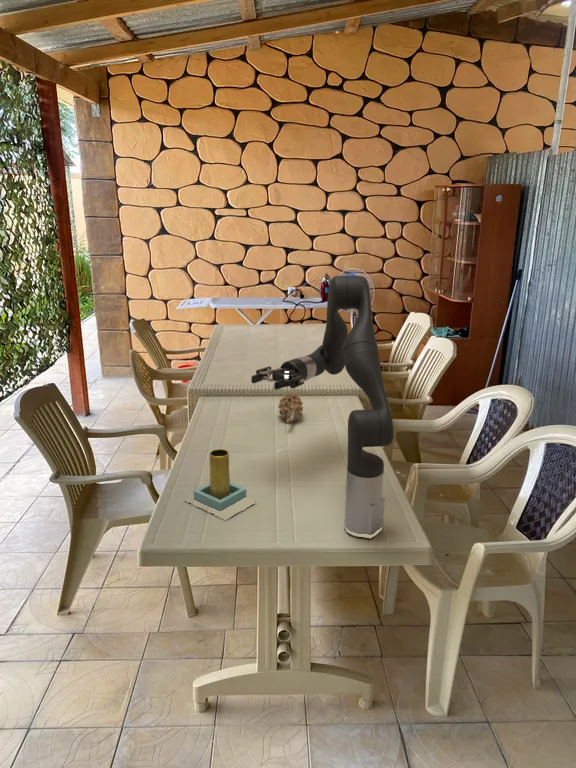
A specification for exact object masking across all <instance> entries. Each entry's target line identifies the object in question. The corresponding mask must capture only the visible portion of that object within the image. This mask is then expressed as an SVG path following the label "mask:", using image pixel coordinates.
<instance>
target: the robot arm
mask: <svg viewBox="0 0 576 768" xmlns="http://www.w3.org/2000/svg"><path fill="white" fill-rule="evenodd" d="M371 301H372V300H371V292H370V284H369V282H368V279H367V278H366V277H365V276H361V275H334V276H333V277H332V278H331V280H330V282H329V286H328V293H327V304H326V305H327V306H326V323H325V324H326V325H325V330H324V334H323V339H322V344H321V345H319V346H318V347H317V348H316V350H314V351H313V352H312V353H310V354H307V355H304V356H299V357H296V358H292V359H290V360H287V361H284V362H283V363H282V364H281V366H280V367H277V368H272V366H265V367H263V368H259V369H255V374H253V375H251V377H250V378H251V379H250V380H251V384H256V383H260V382H263V381H267V382H268V383H270V382H271V383H272V382H273V383H274V384H273V389H274V390H276V391H278V390H281V389H283V388H289V387H290V389H296V388H298V387H300V386H302V385H304V384H305V382H306V381H309V380H310V379H312V378H314V377H317V376H320V375H322V374H323V373H324V372H325V371H326V372H327V373H328V374H330V375H333V376H335V375H339V374H340V373H341V372H342V371H343V370H344V368H345V370H346V372H347V374H348V375H349V377H350V378H351V379H352V380H353V382H354V383H355V384H356V385H357V386H358V387H359V388H360V389H361V390H362V392H363V393H364V394H365V395H366V396H367V398H368V400H369V403H370V404H371V406H372V407H371V408H372V409H355V410H352V411H351V412H350V413H349V415H348V419H347V420H348V421H347V465H346V466H347V467H346V485H345V501H344V519H343V522H344V523H343V524H344V525H345V527H346V528H347V529H348V530H349V531H351V532H354V533H357V534H368V535H372V534H374V533H375V532H376V531H377V530H379V529H380V528H381V527H382V526H383V525H384V514H385V501H386V499H385V497H382V496H383V486H384V485H383V484H384V474H385V473H384V470H385V462H384V460H383V459H382V457H380V456H379V455H377V454H375V453H372V452H369V451H366V450H365V449H363V448H368V447H369V448H372V447H375V448H377V447H378V448H379V447H388V446H390V445H391V444H392V443H393V442H394V441H393V440H394V435H395V434H394V432H395V431H394V429H395V428H394V422H393V417H392V413H391V409H390V406H389V402H388V397H387V395H386V390H385V386H384V380H383V373H382V368H381V358H380V353H379V347H378V342H377V339H376V333H375V327H374V321H373V313H372V312H373V311H372V303H371ZM340 309H341V310H342V309H343V310H345V309H346V310H348V309H349V310H356V311H357V313H358V314H357V318H356V321H355V322H354V324H353V326H352V327H351V330H350V331H349V329H348V325H347V323H346V322H345V320H344V319H343V317H342V316H341V314H340V312H339V310H340ZM271 377H272V378H271ZM344 525H343V526H344ZM383 527H384V526H383Z"/></svg>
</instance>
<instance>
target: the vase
mask: <svg viewBox="0 0 576 768" xmlns="http://www.w3.org/2000/svg"><path fill="white" fill-rule="evenodd" d="M230 481H231V480H230V452H229V451H228V450H227V449H224V448H223V449H222V448H217V449H213V450H211V451H210V452H209V483H210V496H213V497H215V498H217V499H219V500H221V499H223V498H225V497H227V496H229V495H230Z"/></svg>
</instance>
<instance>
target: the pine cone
mask: <svg viewBox="0 0 576 768" xmlns="http://www.w3.org/2000/svg"><path fill="white" fill-rule="evenodd" d="M303 404H304V402H303V400H302V399H301V396H300V395H297V393H296V392H294V391H292V392H290V393H289V394H287V393H286V395H285V396H284V397H283V396H281V398H280V399H279V403H278V406H277V407H278V409H279V410H278V413H279V414H280V415H281V417H282V419H283V420H286V423H290V422H291V423H292V422H293V421H294V422H297V421H299V418H300V417H301V416H303V411H304V406H302V405H303Z"/></svg>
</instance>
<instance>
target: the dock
mask: <svg viewBox="0 0 576 768" xmlns="http://www.w3.org/2000/svg"><path fill="white" fill-rule="evenodd" d="M230 493H231V494H230V495H229V496H227V497H225V498H223V499H221V500H219V499H217V498H215V497H213V496H210V482H209V483H206V484H205V485H202V486H200V487H199V488H197V489H195V490H193V494H194V500H196V501H198V502H200V503H202V504H204V505H207V506H209V507H211V508H214V509H216V510H218V511H222V510H224V509H226V508H227V507H229V506H231V505H233V504H235V503H236V502H238V501H240V500H242V499H243V498H245V497H247V488H245V487H243V486H241V485H239V484H237V483H233V482H230Z"/></svg>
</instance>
